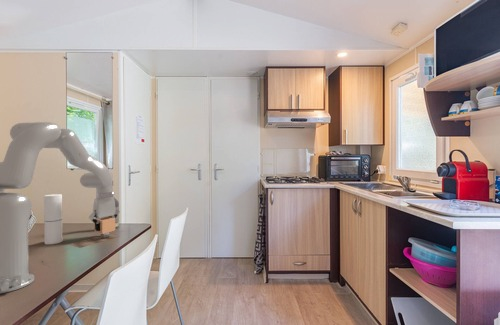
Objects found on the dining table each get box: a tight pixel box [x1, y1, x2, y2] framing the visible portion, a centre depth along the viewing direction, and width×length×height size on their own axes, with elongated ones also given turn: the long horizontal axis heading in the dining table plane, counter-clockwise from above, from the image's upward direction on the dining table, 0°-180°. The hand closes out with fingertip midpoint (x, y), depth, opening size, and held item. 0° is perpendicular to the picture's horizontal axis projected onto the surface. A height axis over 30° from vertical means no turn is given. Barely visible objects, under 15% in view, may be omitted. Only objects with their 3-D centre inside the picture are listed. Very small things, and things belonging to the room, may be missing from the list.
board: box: [68, 233, 120, 248], centre depth 132 cm, size 20×10×2 cm, turn 151°
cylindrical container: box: [43, 193, 63, 245], centre depth 129 cm, size 7×7×25 cm
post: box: [99, 232, 110, 239], centre depth 137 cm, size 4×4×5 cm
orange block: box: [93, 217, 116, 234], centre depth 137 cm, size 7×7×6 cm
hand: (105, 228), depth 137 cm, fingers closed on orange block, 7 cm apart
